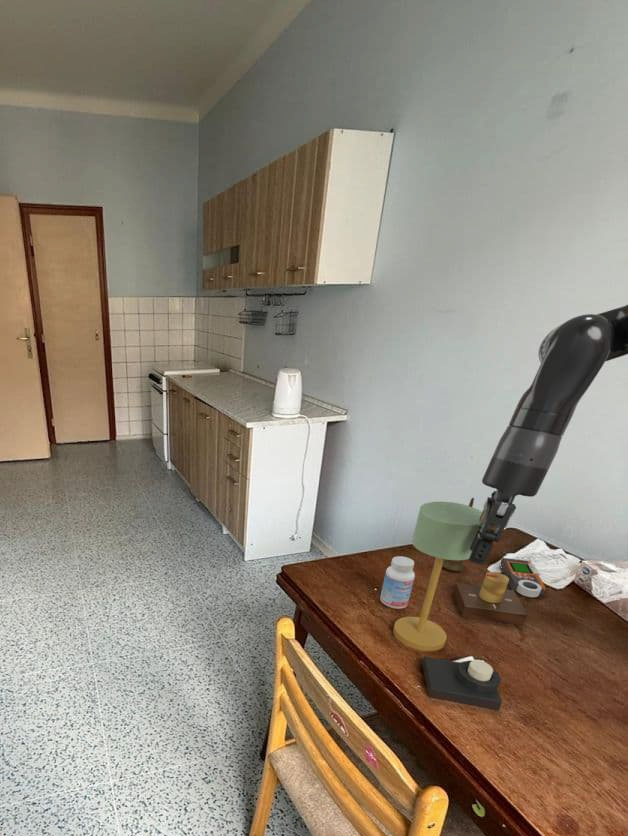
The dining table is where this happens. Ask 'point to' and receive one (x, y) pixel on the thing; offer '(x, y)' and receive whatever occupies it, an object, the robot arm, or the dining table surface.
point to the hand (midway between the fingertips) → (475, 557)
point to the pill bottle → (398, 583)
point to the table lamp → (437, 564)
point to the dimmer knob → (493, 587)
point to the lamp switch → (480, 670)
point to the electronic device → (523, 577)
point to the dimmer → (489, 606)
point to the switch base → (460, 684)
